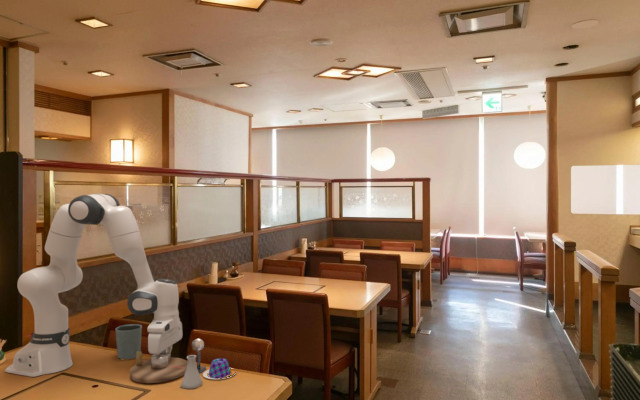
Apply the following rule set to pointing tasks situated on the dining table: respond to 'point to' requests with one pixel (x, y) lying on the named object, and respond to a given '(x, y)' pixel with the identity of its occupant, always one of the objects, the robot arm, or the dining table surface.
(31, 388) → the dining table surface
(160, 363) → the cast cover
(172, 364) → the turntable
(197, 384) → the flask
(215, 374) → the pudding
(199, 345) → the grey knobbed rod
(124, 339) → the grey green cup
